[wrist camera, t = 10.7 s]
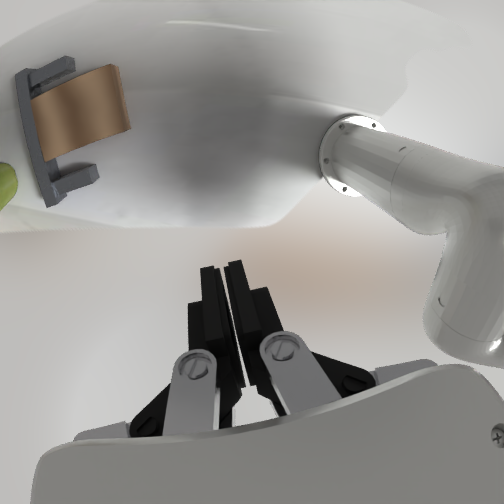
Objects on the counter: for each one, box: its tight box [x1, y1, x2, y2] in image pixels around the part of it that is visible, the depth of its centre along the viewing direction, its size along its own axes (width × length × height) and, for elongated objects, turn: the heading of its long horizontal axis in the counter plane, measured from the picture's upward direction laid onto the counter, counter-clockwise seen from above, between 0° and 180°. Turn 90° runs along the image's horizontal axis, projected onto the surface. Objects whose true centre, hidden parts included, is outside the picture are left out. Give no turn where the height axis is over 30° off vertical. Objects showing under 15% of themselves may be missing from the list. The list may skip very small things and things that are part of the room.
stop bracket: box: [15, 56, 99, 208], centre depth 28 cm, size 8×20×4 cm, turn 8°
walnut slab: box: [30, 64, 131, 162], centre depth 29 cm, size 12×9×4 cm
